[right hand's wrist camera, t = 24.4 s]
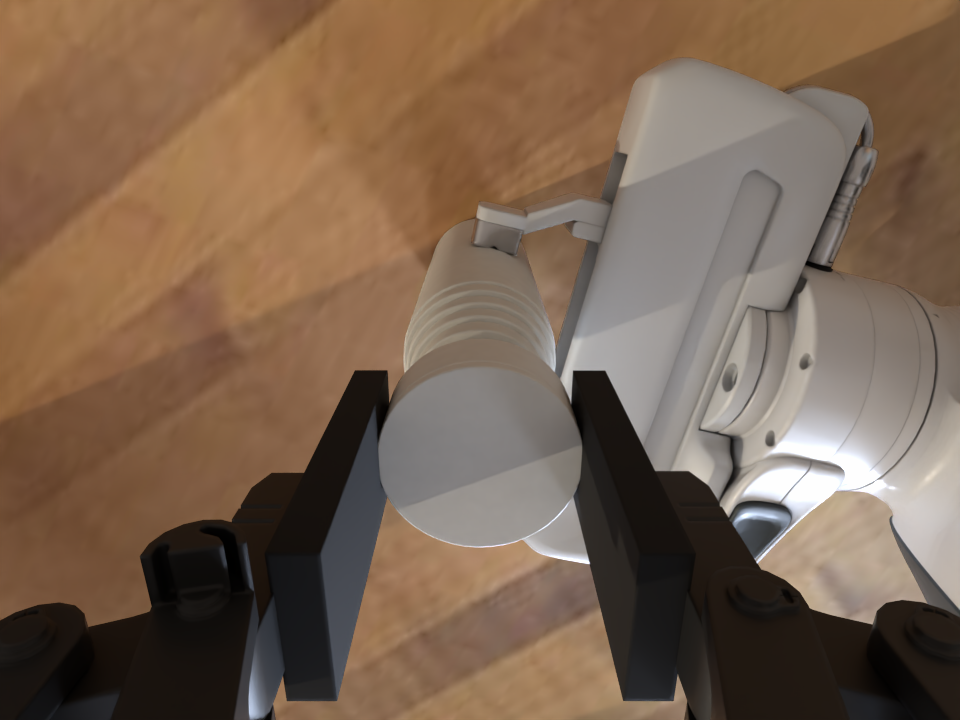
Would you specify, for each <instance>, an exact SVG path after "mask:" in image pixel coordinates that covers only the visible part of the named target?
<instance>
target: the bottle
mask: <svg viewBox="0 0 960 720" xmlns="http://www.w3.org/2000/svg"><path fill="white" fill-rule="evenodd" d="M474 223H475V219H471V220H466V221H463V222H461V223H459V224H457V225H455V226H453V227H452V228H450V229H449V230H448V231H447V232H446V233H445V234H444V235H443V236H442V238H441V239H440V241H439V242H438V244H437V246H436V248H435V251H434V254H433V257H432V260H431V263H430V266H429V268H428V271H427V274H426V277H425V280H424V283H423V286H422V289H421V292H420V295H419V298H418V301H417V303H416V306H415V309H414V312H413V315H412V318H411V321H410V324H409V327H408V330H407V333H406V337H405V342H404V360H403V362H404V372H406V371H407V370H408V369H409V368H410V367H411V366H412V365H413V364H414V363H415V362H416V361H417V360H419V359H420V358H421V357H423V356H424V355H426V354H427V353H429V352H431V351H432V350H434V349H436V348H438V347H441V346H443V345H445V344H449V343H452V342H456V341H460V340H466V339H482V338H484V339H495V340H500V341H505V342H509V343H512V344H514V345H517V346H520V347H522V348H524V349H526V350H528V351H530V352H532V353H533V354H535V355H536V356H538V357H539V358H541V359H542V360H543V361H544V362H545V363H546V364H547V365H549V366H550V367H551V369H552V370H553V371H554V372H555V365H556V354H555V341H554V336H553V332H552V329H551V326H550V323H549V320H548V317H547V314H546V311H545V308H544V305H543V302H542V299H541V296H540V293H539V291H538V288H537V285H536V282H535V279H534V276H533V273H532V270H531V267H530V264H529V261H528V258H527V255H526V252H525V250H524V247H523V245H522V243H521V241H520V244H519V248H518V252H517V255H514V254H509V253H505V252H502V251H499V250H498V249H497V248H496V247H495V246H493V247H490V248H483V247H479V246H477V245H474V244H472V243H471V237H472V233H473V228H474Z"/></svg>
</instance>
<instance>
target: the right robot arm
mask: <svg viewBox="0 0 960 720" xmlns="http://www.w3.org/2000/svg"><path fill="white" fill-rule="evenodd" d="M571 405H572V409H573V412H574V415H575V418H576V421H577V424H578V427H579V431H580V434H581V438H582V460H581V475H580V481H579V484H578V487H577V489H576V491H575V493H574V495H573V498H574V502H575V506H576V510H577V514H578V518H579V522H580V526H581V530H582V534H583V539H584V543H585V547H586V551H587V555H588V559H589V563H590V567H591V571H592V575H593V579H594V583H595V587H596V592H597V596H598V600H599V604H600V608H601V612H602V616H603V620H604V624H605V628H606V632H607V636H608V640H609V644H610V649H611V653H612V657H613V661H614V665H615V669H616V673H617V677H618V681H619V685H620V689H621V693H622V697H623V701H674V694H675V688H676V681H677V675H679V678H680V681H681V684H682V687H683V689H684V692H685V695H686V698H687V707H686V713H685V719H684V720H960V617H958V616H956V615H955V614H953V613H951V612H949V611H947V610H944V609H941V608H938V607H935V606H932V605H929V604H926V603H923V602H914V601H906V600H900V601H894V602H889V603H886V604H884V605H883V606H882V607H881V608H880V609H879V610H878V611H877V613H876V616H875V619H874V623H873V625H872V624H867V623H863V622H859V621H854V620H850V619H845V618H841V617H837V616H832V615H828V614H825V613H822V612H818V611H815V610H812V609H810V608H809V606H808V604H807V603H806V601H805V600H804V598H803V597H802V595H801V593H800V592H799V591H798V590H796V589H795V588H794V587H793V586H792V585H790V584H789V583H788V582H787V581H785V580H784V579H782V578H780V577H778V576H776V575H773V574H771V573H769V572H767V571H764V570H761V569H760V567H759V565H758V564H757V562H756V561H755V559H754V557H753V556H752V554H751V553H750V551H749V549H748V548H747V546H746V544H745V543H744V541H743V540H742V538H741V536H740V535H739V533H738V532H737V530H736V528H735V527H734V525H733V524H732V522H731V521H729V517H728V516H727V514H726V512H725V511H724V509H723V508H722V507H720V503H719V501H718V500H717V498H716V496H715V495H714V493H713V492H712V490H711V488H710V487H709V486H708V485H707V484H706V483H704V482H703V481H702V480H700V479H699V478H698V477H696V476H695V475H694V474H692V473H691V472H690V471H655V469H654V467H653V465H652V463H651V461H650V459H649V457H648V455H647V453H646V451H645V449H644V447H643V445H642V443H641V441H640V439H639V437H638V435H637V433H636V431H635V429H634V427H633V425H632V423H631V421H630V419H629V417H628V415H627V413H626V411H625V409H624V407H623V405H622V403H621V401H620V399H619V397H618V395H617V393H616V391H615V389H614V387H613V385H612V383H611V381H610V379H609V377H608V375H607V373H606V371H605V370H573V378H572V396H571ZM388 407H389V389H388V372H387V370H355V372H354V374H353V376H352V378H351V380H350V382H349V384H348V386H347V388H346V390H345V392H344V394H343V396H342V398H341V400H340V402H339V404H338V406H337V408H336V410H335V412H334V414H333V416H332V418H331V420H330V422H329V424H328V426H327V428H326V430H325V432H324V434H323V436H322V438H321V440H320V442H319V444H318V446H317V448H316V450H315V452H314V454H313V456H312V458H311V460H310V462H309V464H308V466H307V468H306V470H305V472H304V473H271V474H270V475H268V476H267V477H266V478H264V479H263V480H262V481H260V482H259V483H258V484H256V485H255V486H253V487H252V488H251V490H250V491H249V493H248V495H247V496H246V498H245V499H244V501H243V503H242V504H241V509H238V511H237V512H236V514H235V516H234V517H233V519H232V523H231V522H228V521H224V520H201V521H197V522H192V523H188V524H183V525H181V526H179V527H176V528H174V529H172V530H170V531H167V532H165V533H163V534H162V535H161V536H159V537H158V538H156V539H155V540H154V541H152V542H151V543H149V545H148V546H147V547H146V549H145V550H144V551H143V553H142V554H141V555H140V559H141V563H142V568H143V572H144V576H145V580H146V584H147V588H148V592H149V597H150V601H151V605H152V607H151V610H150V612H147V613H144V614H141V615H137V616H134V617H130V618H126V619H122V620H117V621H113V622H108V623H104V624H100V625H95V626H91V627H88V625H87V621H86V618H85V614H84V613H83V612H82V611H81V610H80V609H79V608H77V607H76V606H75V605H70V604H64V603H51V604H43V605H37V606H34V607H31V608H28V609H24V610H22V611H19V612H15V613H14V614H12V615H10V616H8V617H6V618H4V619H2V620H0V720H276V719H275V713H274V707H273V702H274V699H275V696H276V694H277V691H278V688H279V685H280V682H281V679H282V677H283V678H284V685H285V692H286V698H287V701H337V699H338V695H339V691H340V687H341V683H342V679H343V675H344V671H345V666H346V662H347V658H348V654H349V650H350V646H351V642H352V638H353V634H354V630H355V626H356V622H357V618H358V613H359V609H360V605H361V601H362V597H363V593H364V589H365V585H366V581H367V577H368V573H369V569H370V565H371V560H372V556H373V552H374V548H375V544H376V540H377V536H378V532H379V528H380V524H381V520H382V516H383V512H384V507H385V503H386V499H387V495H386V493H385V491H384V488H383V486H382V484H381V480H380V469H379V454H378V440H379V435H380V432H381V429H382V426H383V422H384V419H385V416H386V413H387V410H388Z"/></svg>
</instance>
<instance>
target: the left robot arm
mask: <svg viewBox="0 0 960 720" xmlns="http://www.w3.org/2000/svg"><path fill="white" fill-rule="evenodd" d="M860 133H861V139H860V145H856V143H857V140H858V138H859V136H860ZM873 138H874V125H873V120H872V117H871V115H870V112H869V110H868V107H867V106H866V105H865V104H864V103H863V102H862V101H860V100H859V99H858V98H856V97H854V96H852V95H851V94H847V93H843V92H839V91H836V90H832V89H828V88H825V87H821V86H817V85H799V86H796V87H792V88H790V89H787V90H785V91H783V92H782V91H780V90H778V89H776V88H774V87H772V86H769V85H767V84H765V83H763V82H760V81H758V80H756V79H753V78H751V77H748V76H746V75H743V74H741V73H738V72H735V71H733V70H730V69H727V68H724V67H721V66H718V65H715V64H712V63H709V62H706V61H702V60H699V59H695V58H684V57H683V58H674V59H670V60H668V61H665V62H663V63H661V64H659V65H657V66H655V67H654V68H652V69H650V70H649V71H647V72H645V73H644V74H642V75H641V76H639V77H638V78H637V79H636V81H635V82H634V85H633V87H632V91H631V94H630V97H629V100H628V104H627V107H626V111H625V114H624V117H623V121H622V124H621V128H620V131H619V134H618V138H617V141H616V145H615V148H614V151H613V155H612V158H611V162H610V165H609V168H608V172H607V175H606V179H605V182H604V185H603V189H602V192H601V196H600V199H599V198H595V197H591V196H586V195H582V194H578V193H574V192H571V193H568V194H565V195H562V196H559V197H556V198H552V199H549V200H546V201H543V202H540V203H537V204H534V205H530V206H527V207H525V208H524V210H520V209H516V208H512V207H507V206H503V205H499V204H495V203H490V202H483V201H479V205H478V210H477V214H476V218H475V223H474V228H473V233H472V237H471V243H472V244H474V245H477V246H479V247H483V248H490V247H493V246H495V247H496V248H497V249H498V250H499V251H502V252H505V253H509V254H514V255H517V252H518V248H519V244H520V241H521V237H522V234H527V233H531V232H534V231H538V230H541V229H545V228H548V227H552V226H555V225H559V224H562V223H564V224H565V226H566V228H567V229H568V230H569V232H570V233H571V234H572V235H573V236H574V237H577V238H581V239H585V240H587V243H586V247H585V250H584V253H583V257H582V260H581V264H580V267H579V270H578V274H577V277H576V281H575V284H574V287H573V291H572V294H571V298H570V301H569V304H568V308H567V311H566V315H565V318H564V321H563V325H562V328H561V332H560V335H559V338H558V342H557V345H556V349H555V354H556V365H555V373H556V374H557V376H558V377H559V379H560V380H561V382H562V383H563V385H564V387H565V389H566V392H567V394H568V396H569V399H570V402H571V396H572V378H573V370H605V371H606V373H607V375H608V377H609V379H610V381H611V383H612V385H613V387H614V389H615V391H616V393H617V395H618V397H619V399H620V401H621V403H622V405H623V407H624V409H625V411H626V413H627V415H628V417H629V419H630V421H631V423H632V425H633V427H634V429H635V431H636V433H637V435H638V437H639V439H640V441H641V443H642V445H643V447H644V449H645V451H646V453H647V455H648V457H649V459H650V461H651V463H652V465H653V467H654V469H655V471H690V472H691V473H692V474H694V475H695V476H696V477H698V478H699V479H700V480H702V481H703V482H704V483H706V484H707V485H708V486H709V487H710V488H711V490H712V492H713V493H714V495H715V496H716V498H717V500H718V501H719V503H720V507H722V508H723V509H724V511H725V512H726V514H727V516H728V517H729V521H731V522H732V524H733V525H734V527H735V528H736V530H737V532H738V533H739V535H740V536H741V538H742V540H743V541H744V543H745V544H746V546H747V548H748V549H749V551H750V553H751V554H752V556H753V557H754V559H755V561H756V562H757V563H758V562H759V561H760V560H761V559H762V558H763V557H764V556H765V555H766V554H767V553H768V552H769V550H770V549H771V548H772V547H773V546H774V545H775V544H776V543H777V542H778V541H779V540H780V539H781V538H782V537H783V536H784V535H785V534H786V533H787V532H788V531H789V530H790V529H791V528H792V527H794V526H795V525H796V524H797V523H798V522H799V521H800V520H801V519H802V518H803V517H805V516H806V515H807V514H808V513H809V512H811V511H812V510H813V509H814V508H815V507H817V506H818V505H819V504H821V503H822V502H823V501H825V500H826V499H827V498H829V497H830V496H831V495H832V494H833V493H834V492H835V491H861V492H867V493H870V494H872V495H874V496H876V497H878V498H879V499H880V500H882V501H883V502H885V503H886V504H887V505H888V506H889V507H890V509H891V510H892V513H893V516H891V517H890V525H891V528H892V531H893V534H894V537H895V539H896V541H897V544H898V546H899V548H900V550H901V552H902V554H903V556H904V558H905V560H906V562H907V564H908V566H909V568H910V570H911V572H912V574H913V575H914V577H915V579H916V581H917V583H918V585H919V587H920V589H921V591H922V593H923V595H924V597H925V599H926V601H927V603H928V604H929V605H932V606H935V607H938V608H941V609H944V610H947V611H949V612H951V613H953V614H955V615H956V616H958V617H960V306H946V307H945V306H939V305H935V304H933V303H931V302H930V301H928V300H927V299H925V298H924V297H922V296H920V295H919V294H917V293H915V292H913V291H911V290H909V289H906V288H904V287H901V286H897V285H893V284H889V283H885V282H881V281H877V280H873V279H869V278H864V277H860V276H856V275H852V274H848V273H844V272H839V271H836V270H833V269H831V267H832V265H833V262H834V260H835V258H836V256H837V254H838V251H839V249H840V247H841V244H842V242H843V240H844V238H845V235H846V233H847V230H848V227H849V225H850V222H849V221H850V220H851V218H852V213H853V212H854V209H855V208H854V206H856V203H857V199H858V198H859V196H860V194H861V192H862V190H863V188H864V187H866V186H867V184H868V182H869V181H870V179H871V176H872V174H873V172H874V169H875V166H876V163H877V159H878V153H879V151H878V150H877V149H874V148H872V144H873ZM523 540H524V541H525V542H526V543H527V544H528V545H529V546H530V547H531V548H532V549H533V550H534V551H536V552H538V553H540V554H543V555H546V556H550V557H554V558H558V559H564V560H569V561H574V562H580V563H586V564H590V563H589V559H588V555H587V551H586V547H585V543H584V539H583V534H582V530H581V526H580V522H579V518H578V514H577V510H576V506H575V502H574V498H573V497H572V499H571V501H570V502H569V503H568V505H567V506H566V508H565V509H564V510H563V511H562V512H561V513H560V515H559V516H558V517H557V518H556V519H554V520H553V521H552V522H551V523H550V524H549V525H547V526H546V527H544V528H543V529H541V530H540V531H538V532H537V533H535V534H533V535H531V536H529V537H527V538H524V539H523Z"/></svg>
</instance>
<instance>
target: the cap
mask: <svg viewBox="0 0 960 720" xmlns="http://www.w3.org/2000/svg"><path fill="white" fill-rule="evenodd" d="M378 454H379V469H380V480H381V484H382V486H383V488H384V491H385V493H386V495H387V496H388V498H389V500H390V501H391V503H392V505H393V506H394V507H395V508H396V510H397V511H398V512H399V513H400V514H401V515H402V516H403V517H404V518H405V519H406V520H407V521H408V522H409V523H411V524H412V525H413V526H415V527H416V528H417V529H419V530H420V531H422V532H424V533H426V534H427V535H429V536H432V537H434V538H436V539H438V540H441V541H444V542H448V543H451V544H455V545H461V546H468V547H493V546H500V545H505V544H509V543H513V542H516V541H519V540H522V539H524V538H527V537H529V536H531V535H533V534H535V533H537V532H538V531H540V530H541V529H543V528H544V527H546V526H547V525H549V524H550V523H551V522H552V521H553V520H554V519H556V518H557V517H558V516H559V515H560V513H561V512H562V511H563V510H564V509H565V508H566V506H567V505H568V503H569V502H570V501H571V499H572V497H573V495H574V493H575V491H576V489H577V487H578V484H579V481H580V475H581V460H582V438H581V434H580V431H579V427H578V424H577V421H576V418H575V415H574V412H573V409H572V405H571V402H570V399H569V396H568V394H567V392H566V389H565V387H564V385H563V383H562V382H561V380H560V379H559V377H558V376H557V374H556V373H555V372H554V371H553V370H552V369H551V367H550V366H549V365H547V364H546V363H545V362H544V361H543V360H542V359H541V358H539V357H538V356H536V355H535V354H533V353H532V352H530V351H528V350H526V349H524V348H522V347H520V346H517V345H514V344H512V343H509V342H505V341H500V340H495V339H484V338H482V339H466V340H460V341H456V342H452V343H449V344H445V345H443V346H441V347H438V348H436V349H434V350H432V351H431V352H429V353H427V354H426V355H424V356H423V357H421V358H420V359H419V360H417V361H416V362H415V363H414V364H413V365H412V366H411V367H410V368H409V369H408V370H407V371H406V372H405V374H404V375H403V376H402V378H401V379H400V381H399V382H398V384H397V386H396V388H395V390H394V392H393V395H392V398H391V401H390V404H389V407H388V410H387V413H386V416H385V419H384V422H383V426H382V429H381V432H380V435H379V440H378Z"/></svg>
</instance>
